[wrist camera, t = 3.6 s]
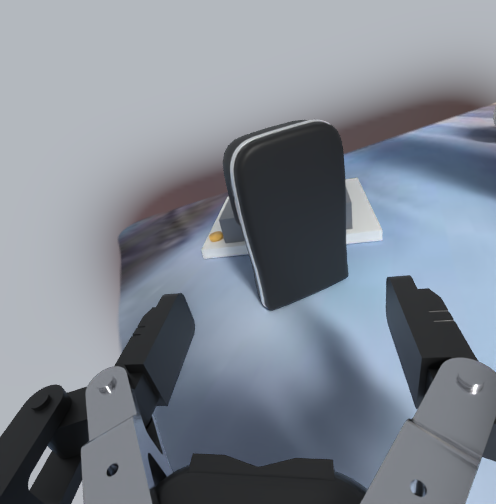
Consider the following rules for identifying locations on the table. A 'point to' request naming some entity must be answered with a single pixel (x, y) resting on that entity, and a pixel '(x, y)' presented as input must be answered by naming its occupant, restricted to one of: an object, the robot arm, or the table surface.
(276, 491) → the robot arm
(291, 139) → the battery charger
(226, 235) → the charging dock
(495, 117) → the off-white ball
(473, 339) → the table surface
